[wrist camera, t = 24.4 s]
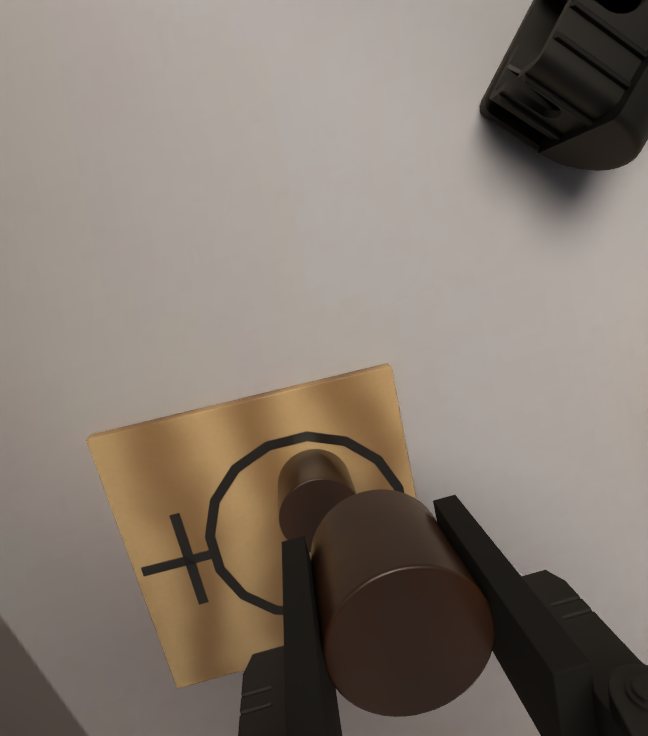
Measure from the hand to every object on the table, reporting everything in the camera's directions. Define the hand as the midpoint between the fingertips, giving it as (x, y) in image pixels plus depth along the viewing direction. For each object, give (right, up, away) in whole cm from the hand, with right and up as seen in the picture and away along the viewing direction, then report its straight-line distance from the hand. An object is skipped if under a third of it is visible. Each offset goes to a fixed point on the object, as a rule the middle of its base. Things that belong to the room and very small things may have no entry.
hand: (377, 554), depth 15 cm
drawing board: (-5, -4, +14) cm, 15 cm away
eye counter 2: (-2, -1, +13) cm, 13 cm away
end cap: (+12, +23, +10) cm, 28 cm away
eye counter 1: (0, 0, 0) cm, 0 cm away
